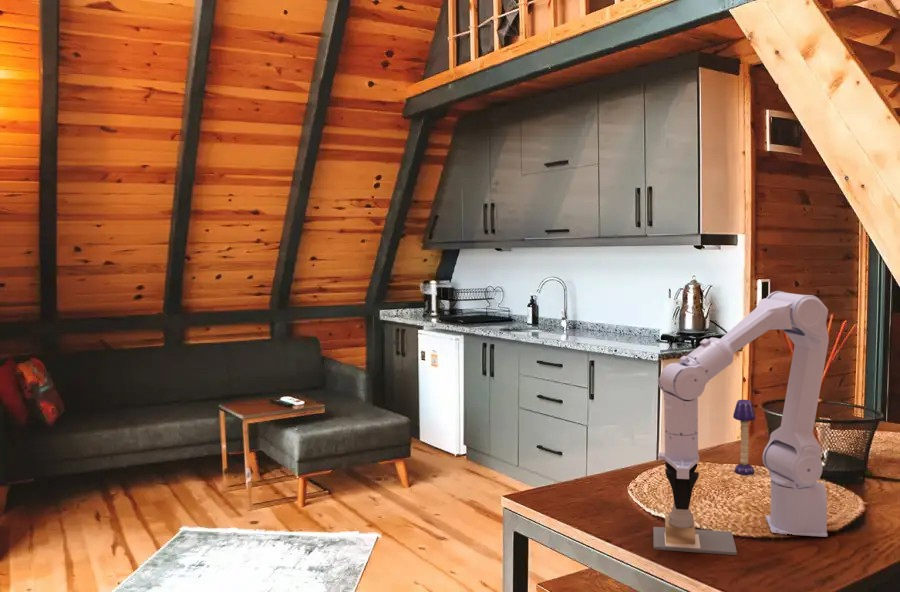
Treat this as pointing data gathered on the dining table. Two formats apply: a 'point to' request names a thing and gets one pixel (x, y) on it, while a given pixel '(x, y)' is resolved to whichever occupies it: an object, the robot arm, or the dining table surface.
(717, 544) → the slate board
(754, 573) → the dining table surface
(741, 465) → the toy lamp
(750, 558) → the dining table surface
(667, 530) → the oak block
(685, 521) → the rook chess piece
